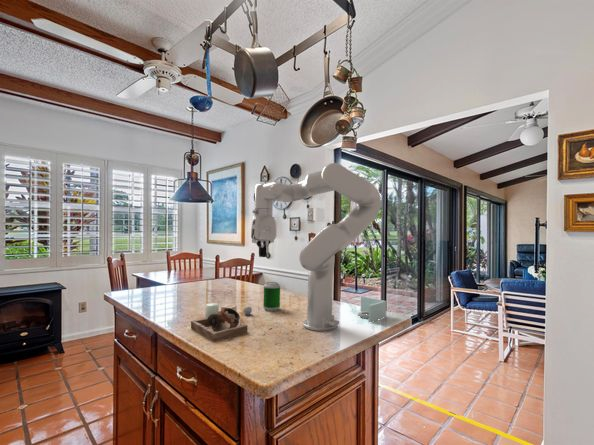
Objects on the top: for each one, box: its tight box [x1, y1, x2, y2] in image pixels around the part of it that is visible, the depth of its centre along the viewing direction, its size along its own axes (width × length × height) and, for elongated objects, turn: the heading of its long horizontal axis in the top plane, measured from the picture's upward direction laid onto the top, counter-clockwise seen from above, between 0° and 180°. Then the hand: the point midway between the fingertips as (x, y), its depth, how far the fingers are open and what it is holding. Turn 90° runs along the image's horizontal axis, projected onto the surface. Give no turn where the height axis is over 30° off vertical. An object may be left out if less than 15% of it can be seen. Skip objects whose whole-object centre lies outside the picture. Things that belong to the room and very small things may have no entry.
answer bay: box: [190, 316, 248, 342], centre depth 111 cm, size 17×13×3 cm
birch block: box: [220, 304, 238, 319], centre depth 127 cm, size 4×4×4 cm
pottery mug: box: [207, 308, 241, 330], centre depth 112 cm, size 12×10×8 cm
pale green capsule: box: [205, 302, 220, 318], centre depth 123 cm, size 5×5×6 cm
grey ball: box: [242, 305, 253, 316], centre depth 131 cm, size 4×4×4 cm
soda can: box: [262, 281, 281, 312], centre depth 140 cm, size 8×8×12 cm
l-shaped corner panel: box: [357, 295, 387, 323], centre depth 130 cm, size 12×12×8 cm
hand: (262, 256), depth 129 cm, fingers closed
